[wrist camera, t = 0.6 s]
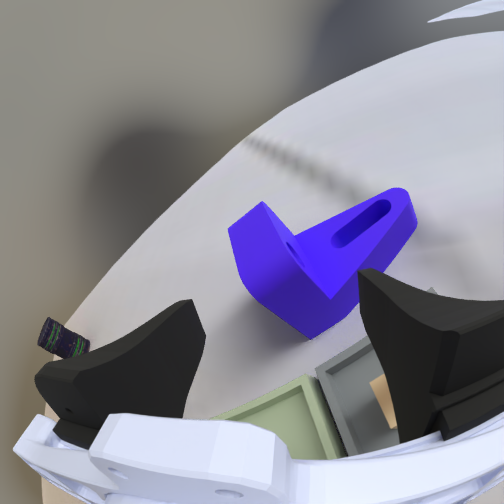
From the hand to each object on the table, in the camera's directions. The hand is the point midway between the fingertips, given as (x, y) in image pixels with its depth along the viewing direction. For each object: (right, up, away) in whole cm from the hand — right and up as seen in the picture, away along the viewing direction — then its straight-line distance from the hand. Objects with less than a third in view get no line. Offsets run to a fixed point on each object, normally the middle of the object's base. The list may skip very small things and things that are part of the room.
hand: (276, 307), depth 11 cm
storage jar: (-52, -29, +57) cm, 83 cm away
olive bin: (+2, -18, +10) cm, 21 cm away
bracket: (+11, +1, +19) cm, 22 cm away
